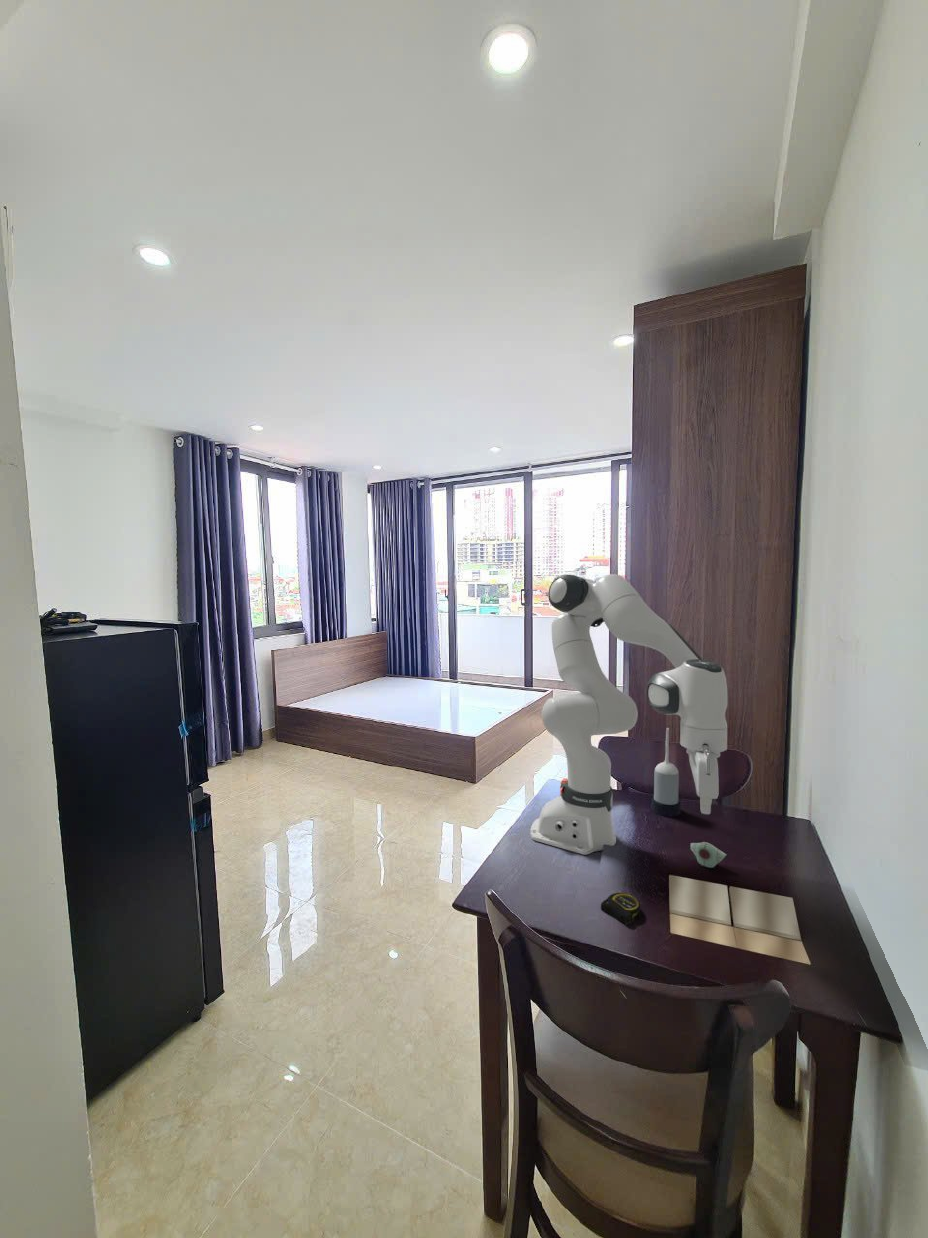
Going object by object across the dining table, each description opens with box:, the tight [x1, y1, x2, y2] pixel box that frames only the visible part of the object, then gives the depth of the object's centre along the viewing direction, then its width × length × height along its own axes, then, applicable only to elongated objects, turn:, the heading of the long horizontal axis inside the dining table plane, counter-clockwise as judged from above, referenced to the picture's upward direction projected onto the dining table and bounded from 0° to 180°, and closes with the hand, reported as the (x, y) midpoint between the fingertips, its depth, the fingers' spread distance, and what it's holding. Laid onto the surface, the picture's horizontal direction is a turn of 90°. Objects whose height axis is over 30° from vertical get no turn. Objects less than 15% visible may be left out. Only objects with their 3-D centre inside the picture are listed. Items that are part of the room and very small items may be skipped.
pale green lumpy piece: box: [690, 841, 728, 869], centre depth 117 cm, size 8×4×7 cm, turn 49°
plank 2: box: [728, 885, 802, 942], centre depth 97 cm, size 11×8×2 cm
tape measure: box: [600, 892, 643, 928], centre depth 100 cm, size 7×7×4 cm
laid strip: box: [669, 913, 812, 966], centre depth 93 cm, size 22×6×2 cm, turn 69°
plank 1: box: [668, 874, 732, 927], centre depth 101 cm, size 11×8×2 cm
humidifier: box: [650, 727, 682, 818], centre depth 148 cm, size 8×8×25 cm
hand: (702, 803), depth 104 cm, fingers open, 8 cm apart
